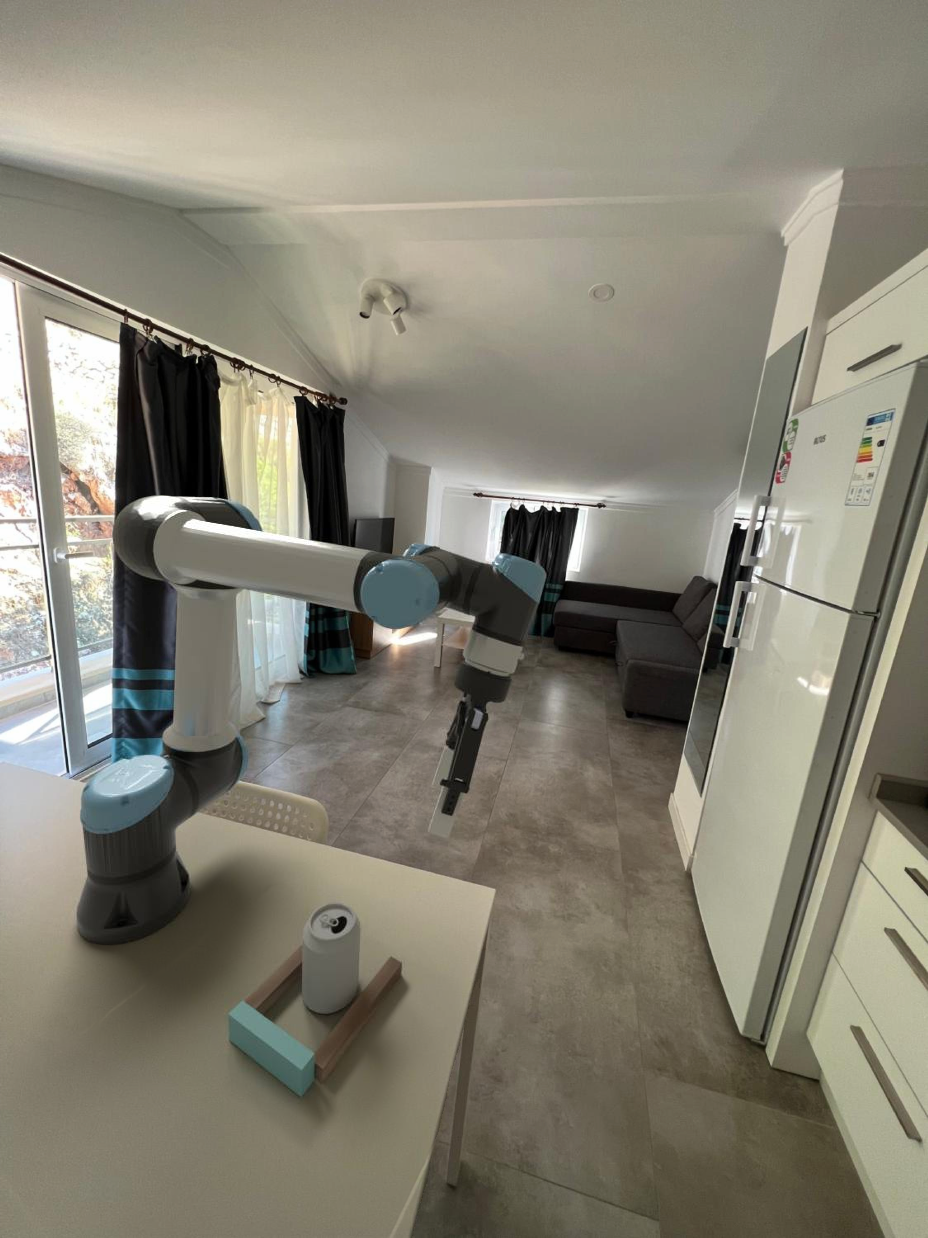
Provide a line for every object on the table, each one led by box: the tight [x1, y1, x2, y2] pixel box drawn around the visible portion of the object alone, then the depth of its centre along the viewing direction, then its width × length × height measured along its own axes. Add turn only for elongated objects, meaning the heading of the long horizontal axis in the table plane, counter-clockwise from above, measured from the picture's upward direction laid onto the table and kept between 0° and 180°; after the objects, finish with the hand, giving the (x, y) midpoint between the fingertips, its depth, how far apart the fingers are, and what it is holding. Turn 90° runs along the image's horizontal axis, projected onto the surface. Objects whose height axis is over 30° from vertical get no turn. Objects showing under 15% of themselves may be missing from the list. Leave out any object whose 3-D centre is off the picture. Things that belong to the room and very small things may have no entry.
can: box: [301, 901, 362, 1015], centre depth 67 cm, size 8×8×12 cm
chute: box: [243, 943, 403, 1084], centre depth 67 cm, size 14×16×2 cm
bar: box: [227, 1000, 315, 1098], centre depth 59 cm, size 12×2×4 cm, turn 63°
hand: (438, 809), depth 70 cm, fingers open, 13 cm apart
